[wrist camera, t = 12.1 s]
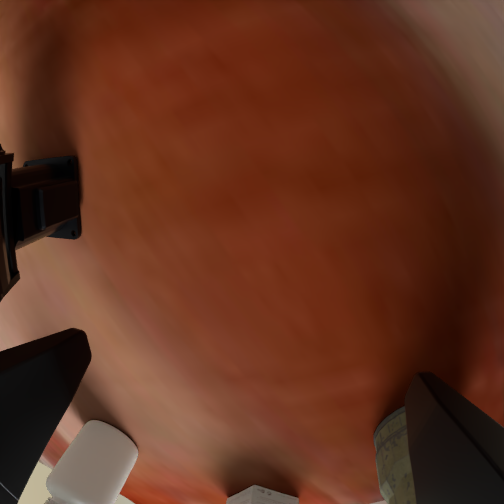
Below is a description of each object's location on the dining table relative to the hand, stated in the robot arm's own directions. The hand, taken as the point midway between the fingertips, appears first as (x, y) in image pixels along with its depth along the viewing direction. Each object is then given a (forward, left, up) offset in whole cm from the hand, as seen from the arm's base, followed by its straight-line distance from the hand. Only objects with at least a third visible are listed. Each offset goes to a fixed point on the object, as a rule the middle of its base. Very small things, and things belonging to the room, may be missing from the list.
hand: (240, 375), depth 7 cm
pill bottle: (-18, -28, -13) cm, 36 cm away
